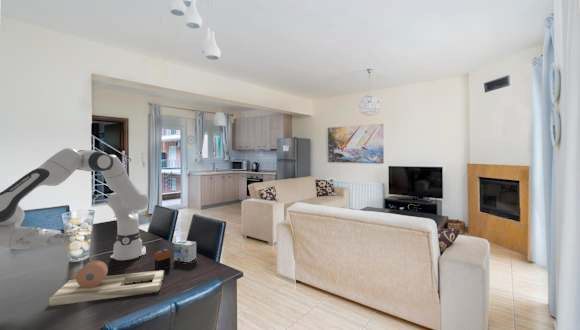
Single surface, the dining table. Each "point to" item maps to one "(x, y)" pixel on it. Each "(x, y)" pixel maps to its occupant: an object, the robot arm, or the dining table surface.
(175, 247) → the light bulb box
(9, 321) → the dining table surface
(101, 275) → the roller
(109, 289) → the board
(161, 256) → the battery
